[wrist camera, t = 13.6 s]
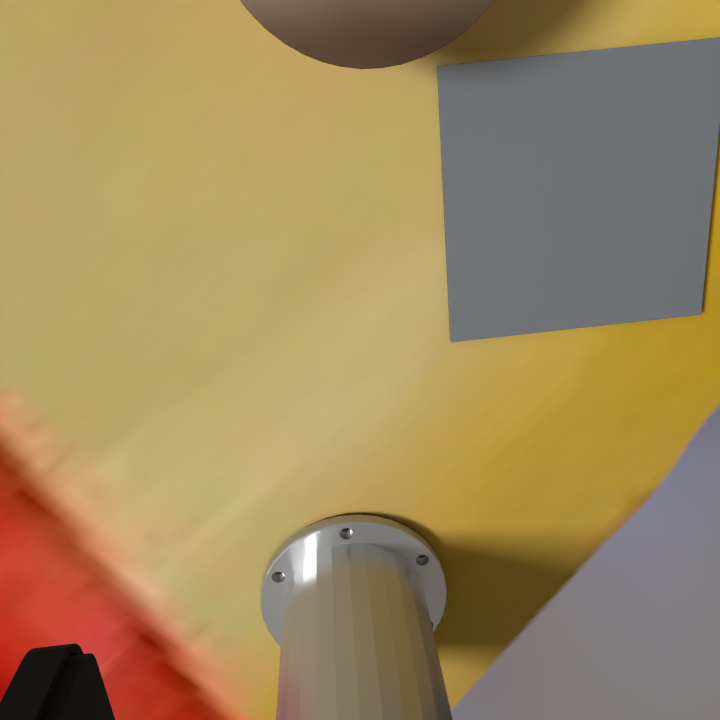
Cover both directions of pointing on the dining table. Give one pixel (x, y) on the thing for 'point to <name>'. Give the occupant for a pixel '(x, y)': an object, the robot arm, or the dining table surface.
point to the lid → (366, 27)
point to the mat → (578, 186)
